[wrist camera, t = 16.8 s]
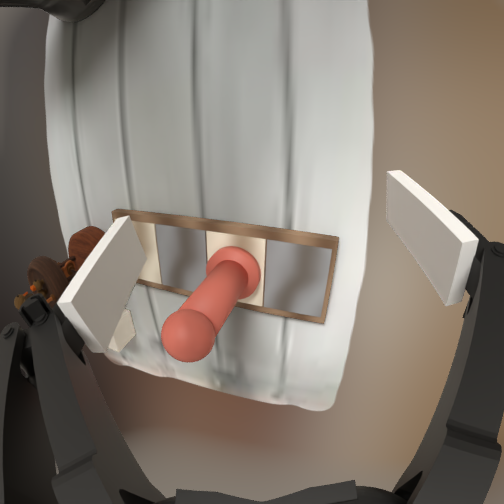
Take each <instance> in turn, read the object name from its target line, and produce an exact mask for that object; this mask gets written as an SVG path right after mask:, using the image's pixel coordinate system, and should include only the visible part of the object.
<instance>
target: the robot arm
mask: <svg viewBox="0 0 504 504" xmlns="http://www.w3.org/2000/svg"><path fill="white" fill-rule="evenodd" d="M104 1H105V0H0V7H24V8H38V9H42V10H44V11H45V12H47V13H49V14H51V15H52V16H54V17H56V18H57V19H59V20H62V21H68V22H77V21H81V20H83V19H85V18H86V17H88V16H89V15H91V14H92V13H93V12H94V11H95V10H96V9H97V8H98V7H99V6H100V5H101V4H102V3H103V2H104ZM386 215H387V216H386V221H387V222H388V223H389V225H390V226H391V227H392V229H393V230H394V231H395V233H396V234H397V235H398V237H399V238H400V239H401V241H402V242H403V243H404V245H405V246H406V247H407V249H408V250H409V252H410V253H411V254H412V256H413V257H414V258H415V260H416V261H417V263H418V264H419V266H420V267H421V269H422V270H423V272H424V273H425V275H426V276H427V277H428V279H429V281H430V282H431V284H432V285H433V287H434V288H435V290H436V291H437V293H438V295H439V296H440V297H441V299H442V301H443V302H444V304H445V306H448V305H451V304H455V303H458V302H461V301H462V298H463V295H464V292H465V289H466V290H467V292H468V293H469V295H470V298H469V301H468V304H467V307H466V309H465V312H464V315H463V318H464V323H463V327H462V331H461V335H460V339H459V343H458V347H457V350H456V353H455V357H454V360H453V363H452V366H451V369H450V372H449V375H448V379H447V382H446V385H445V387H444V390H443V393H442V395H441V398H440V400H439V403H438V406H437V408H436V411H435V413H434V415H433V418H432V420H431V423H430V425H429V427H428V429H427V432H426V434H425V436H424V438H423V440H422V442H421V444H420V446H419V449H418V450H417V452H416V454H415V456H414V458H413V460H412V461H411V463H410V465H409V466H408V467H407V469H406V470H405V472H404V473H403V475H402V476H401V478H400V479H399V481H398V482H397V484H396V486H395V487H394V489H393V491H392V492H389V491H386V490H383V489H379V488H374V487H366V486H356V484H355V480H351V481H346V482H341V483H336V484H330V485H324V486H317V487H310V488H307V489H304V490H301V491H298V492H295V493H293V494H289V495H286V496H283V497H279V498H276V499H273V500H269V501H264V502H259V501H254V500H249V499H244V498H239V497H235V496H231V495H226V494H223V493H219V492H208V491H192V490H181V489H176V496H174V497H170V498H165V497H164V495H162V493H161V492H160V491H159V490H157V489H156V488H155V487H154V486H153V485H152V484H151V483H150V482H149V480H148V479H147V477H146V476H145V474H144V473H143V471H142V469H141V468H140V466H139V464H138V463H137V461H136V459H135V458H134V456H133V454H132V453H131V451H130V449H129V447H128V445H127V444H126V442H125V440H124V438H123V436H122V434H121V432H120V431H119V429H118V427H117V425H116V423H115V421H114V419H113V417H112V415H111V413H110V410H109V408H108V406H107V404H106V402H105V400H104V398H103V395H102V393H101V391H100V389H99V386H98V384H97V382H96V379H95V377H94V374H93V372H92V369H91V367H90V364H89V361H88V359H87V356H86V355H85V353H84V352H83V351H82V347H83V346H84V343H85V344H86V345H87V347H88V348H89V349H90V350H91V351H92V352H95V353H96V352H98V353H99V352H100V353H101V352H102V353H106V352H107V349H108V346H109V344H110V341H111V339H112V337H113V334H114V332H115V329H116V327H117V324H118V322H119V320H120V317H121V315H122V313H123V310H124V308H125V306H126V303H127V301H128V299H129V297H130V294H131V292H132V290H133V288H134V286H135V283H136V281H137V279H138V277H139V275H140V273H141V271H142V269H143V266H144V264H145V262H146V260H147V257H146V255H145V253H144V250H143V248H142V246H141V243H140V241H139V238H138V236H137V233H136V231H135V229H134V226H133V224H132V221H131V218H130V216H125V217H121V218H117V219H116V221H115V222H114V223H113V224H112V226H111V227H110V228H109V229H108V231H107V232H106V233H105V235H104V236H103V237H102V239H101V240H100V241H99V243H98V244H97V245H96V247H95V248H94V249H93V251H92V252H91V253H90V255H89V256H88V258H87V259H86V260H85V262H84V263H83V265H82V266H81V268H80V269H79V270H78V272H77V273H76V275H75V276H74V277H73V278H72V279H71V281H70V282H69V284H68V286H67V287H66V288H65V290H64V292H63V293H62V294H61V296H60V297H59V299H58V300H57V302H56V304H55V305H54V307H53V308H51V307H50V305H49V304H48V302H47V301H46V299H45V298H44V296H43V295H42V294H41V293H37V294H34V295H32V296H30V297H29V298H28V299H27V300H25V302H24V303H23V304H22V305H21V307H20V309H19V313H20V315H21V316H22V318H23V319H24V320H25V322H26V323H27V324H28V326H29V327H30V328H28V329H25V330H23V329H22V328H21V327H20V326H19V324H18V323H17V322H13V323H11V324H9V325H7V326H6V327H5V328H4V329H3V331H2V332H1V334H0V504H483V502H484V500H485V498H486V495H487V493H488V491H489V488H490V486H491V483H492V480H493V478H494V475H495V473H496V470H497V467H498V464H499V461H500V457H501V452H502V450H501V445H500V444H499V443H497V436H498V432H499V428H500V424H501V421H502V417H503V412H504V244H502V243H499V242H489V241H488V240H487V239H486V238H485V237H483V235H482V234H480V232H479V231H478V230H476V229H475V228H473V226H472V225H471V224H470V223H469V222H468V221H467V220H466V219H465V218H464V217H463V216H462V215H460V214H458V213H456V212H454V211H452V210H447V209H446V208H445V207H444V206H443V205H442V204H441V203H440V202H438V201H437V200H436V199H435V198H434V197H433V196H432V195H430V194H429V193H428V192H427V191H426V190H424V189H423V188H422V187H421V186H420V185H418V184H417V183H416V182H415V181H413V180H412V179H411V178H410V177H408V176H407V175H406V174H404V173H403V172H402V171H401V170H396V171H387V212H386ZM20 367H21V368H22V369H23V370H24V371H25V372H26V377H24V376H23V375H22V374H21V370H20ZM54 457H55V458H54ZM55 460H56V463H57V466H58V470H59V474H57V475H56V467H55Z"/></svg>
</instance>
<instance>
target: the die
mask: <svg viewBox="0 0 504 504" xmlns="http://www.w3.org/2000/svg"><path fill="white" fill-rule="evenodd" d="M135 335H136V332H135V328H134V325H133V321H132V317H131V313H130V310H127V309H124V310H123V313H122V315H121V317H120V320H119V322H118V324H117V327H116V329H115V332H114V334H113V337H112V339H111V341H110V344H109V346H108V348H110V349H112V350H114V351H117V352H120V351H121V350H122V349H123V348H124V347H125V345H126V344H127V343H128V342H129V341H130V340H131V339H132V338H133V337H134V336H135Z"/></svg>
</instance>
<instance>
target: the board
mask: <svg viewBox="0 0 504 504" xmlns="http://www.w3.org/2000/svg"><path fill="white" fill-rule="evenodd" d="M125 216H130V218H131V221H132V224H133V226H134V229H135V231H136V233H137V236H138V238H139V241H140V243H141V246H142V248H143V250H144V253H145V255H146V257H147V260H146V262H145V264H144V266H143V269H142V271H141V273H140V275H139V277H138V279H137V281H136V283H139V284H143V285H147V286H151V287H155V288H159V289H163V290H167V291H171V292H175V293H179V294H183V295H187V296H191V294H192V293H193V292H194V291H195V290H196V289H197V287H198V286H199V285H200V284H201V283H202V282H203V280H204V279H205V278H206V277H207V275H206V265H207V262H208V260H209V259H210V258H211V256H212V255H213V254H214V253H215V252H216V251H217V250H219V249H220V248H223V247H226V246H236V247H240V248H243V249H245V250H246V251H248V252H249V253H251V254H252V255H253V256H254V257H255V259H256V260H257V262H258V263H259V266H260V269H261V279H260V282H259V284H258V286H257V288H256V290H255V291H254V293H253V294H252V295H250V296H249V297H247V298H244V299H238V301H237V303H236V304H235V307H240V308H245V309H250V310H255V311H259V312H264V313H269V314H274V315H280V316H285V317H290V318H295V319H301V320H306V321H312V322H318V323H324V321H325V316H326V311H327V306H328V300H329V295H330V290H331V284H332V278H333V273H334V267H335V260H336V254H337V248H338V241H339V237H336V236H330V235H323V234H316V233H310V232H303V231H296V230H289V229H281V228H274V227H267V226H260V225H252V224H244V223H237V222H229V221H221V220H213V219H205V218H197V217H188V216H180V215H171V214H162V213H153V212H144V211H134V210H124V209H116V210H114V211H112V218H113V223H114V222H115V221H116V219H117V218H121V217H125Z"/></svg>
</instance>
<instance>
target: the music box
mask: <svg viewBox="0 0 504 504" xmlns="http://www.w3.org/2000/svg"><path fill="white" fill-rule="evenodd" d="M104 235H105V233H104V232H103V231H102V230H101V229H99V228H97V227H94V226H89V227H86V228H84V229H82V230H81V231H79V232H77V233H75V234H73V235H72V237H71V238H70V241H69V248H68V252H69V259H67V260H65V261H64V262H62V263H59V262H58V263H56V261H54V260H52V259H51V258H48V257H46V256H40V257H37V258H35V259H33V260H32V262H31V263H30V265H29V267H28V272H27V276H28V281H29V284H30V289H31V290H32V291H33V293H34V294H37V293H41V294H42V295H43V296H44V298H45V299H46V301H47V302H48V304H49V305H50V307H51V308H53V307H54V305H55V304H56V302H57V300H58V299H59V297H60V296H61V294H62V293H63V292H64V290H65V288H66V287H67V286H68V284H69V282H70V281H71V279H72V278H73V277H74V276H75V275H76V273H77V272H78V270H79V269H80V268H81V266H82V265H83V263H84V262H85V260H86V259H87V258H88V256H89V255H90V253H91V252H92V251H93V249H94V248H95V247H96V245H97V244H98V243H99V241H100V240H101V239H102V237H103V236H104ZM32 295H33V294H28V292H26V293H25V294H23V295H18V296H16V298H15V300H14V304H15V307H16V308H17V309H18V310H19V309H20V307H21V305H22V304H23V303H24V302H25V300H27V299H28V298H29V297H30V296H32Z"/></svg>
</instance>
